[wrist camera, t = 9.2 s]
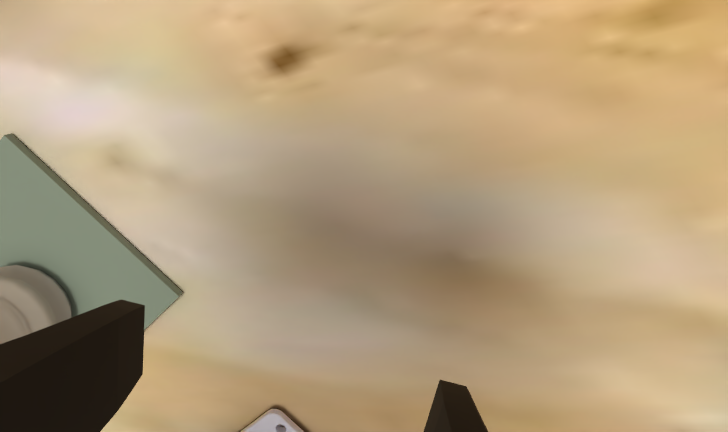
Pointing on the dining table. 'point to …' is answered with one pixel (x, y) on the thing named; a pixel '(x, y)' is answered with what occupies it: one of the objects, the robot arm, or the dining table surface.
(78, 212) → the rubber mat
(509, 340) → the dining table surface
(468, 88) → the dining table surface
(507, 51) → the dining table surface
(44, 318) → the rook chess piece
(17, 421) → the robot arm
